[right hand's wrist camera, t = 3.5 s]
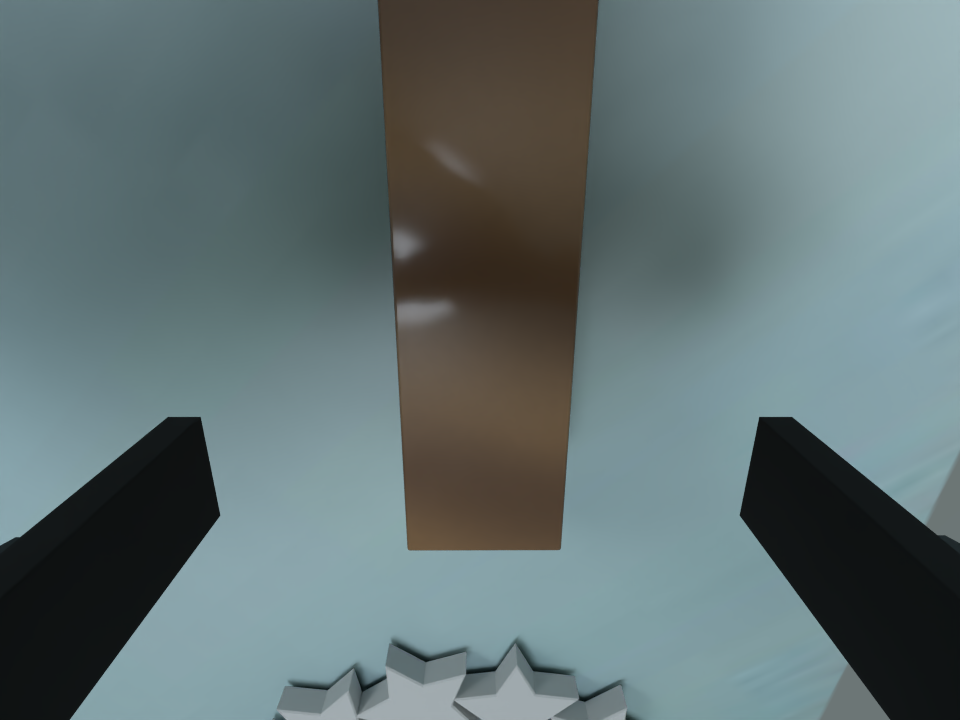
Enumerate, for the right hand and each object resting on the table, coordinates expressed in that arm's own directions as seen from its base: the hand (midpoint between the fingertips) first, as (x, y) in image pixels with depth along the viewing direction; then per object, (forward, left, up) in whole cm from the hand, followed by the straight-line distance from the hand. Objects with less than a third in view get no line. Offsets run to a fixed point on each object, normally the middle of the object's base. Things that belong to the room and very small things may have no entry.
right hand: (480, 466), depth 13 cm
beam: (+24, +10, -12) cm, 29 cm away
